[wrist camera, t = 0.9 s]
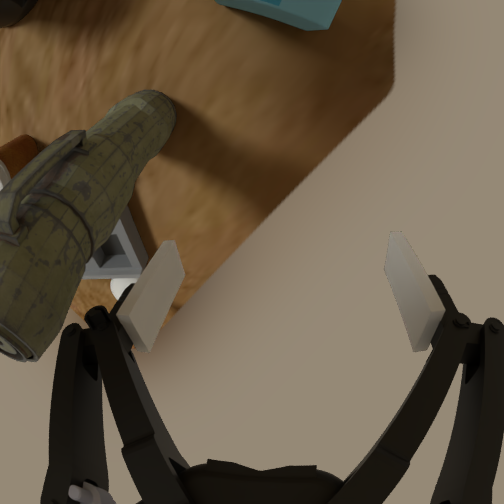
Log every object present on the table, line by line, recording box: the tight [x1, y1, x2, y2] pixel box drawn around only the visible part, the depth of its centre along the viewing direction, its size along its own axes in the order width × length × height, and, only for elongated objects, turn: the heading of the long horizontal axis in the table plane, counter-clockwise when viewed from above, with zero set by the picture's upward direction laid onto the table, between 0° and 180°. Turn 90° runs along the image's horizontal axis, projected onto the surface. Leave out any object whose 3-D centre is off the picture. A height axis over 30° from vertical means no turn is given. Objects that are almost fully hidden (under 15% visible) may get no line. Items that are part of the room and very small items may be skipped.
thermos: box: [0, 90, 176, 362], centre depth 22 cm, size 9×12×35 cm
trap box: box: [82, 205, 149, 279], centre depth 45 cm, size 22×30×7 cm
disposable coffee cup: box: [0, 135, 38, 191], centre depth 31 cm, size 10×10×12 cm
